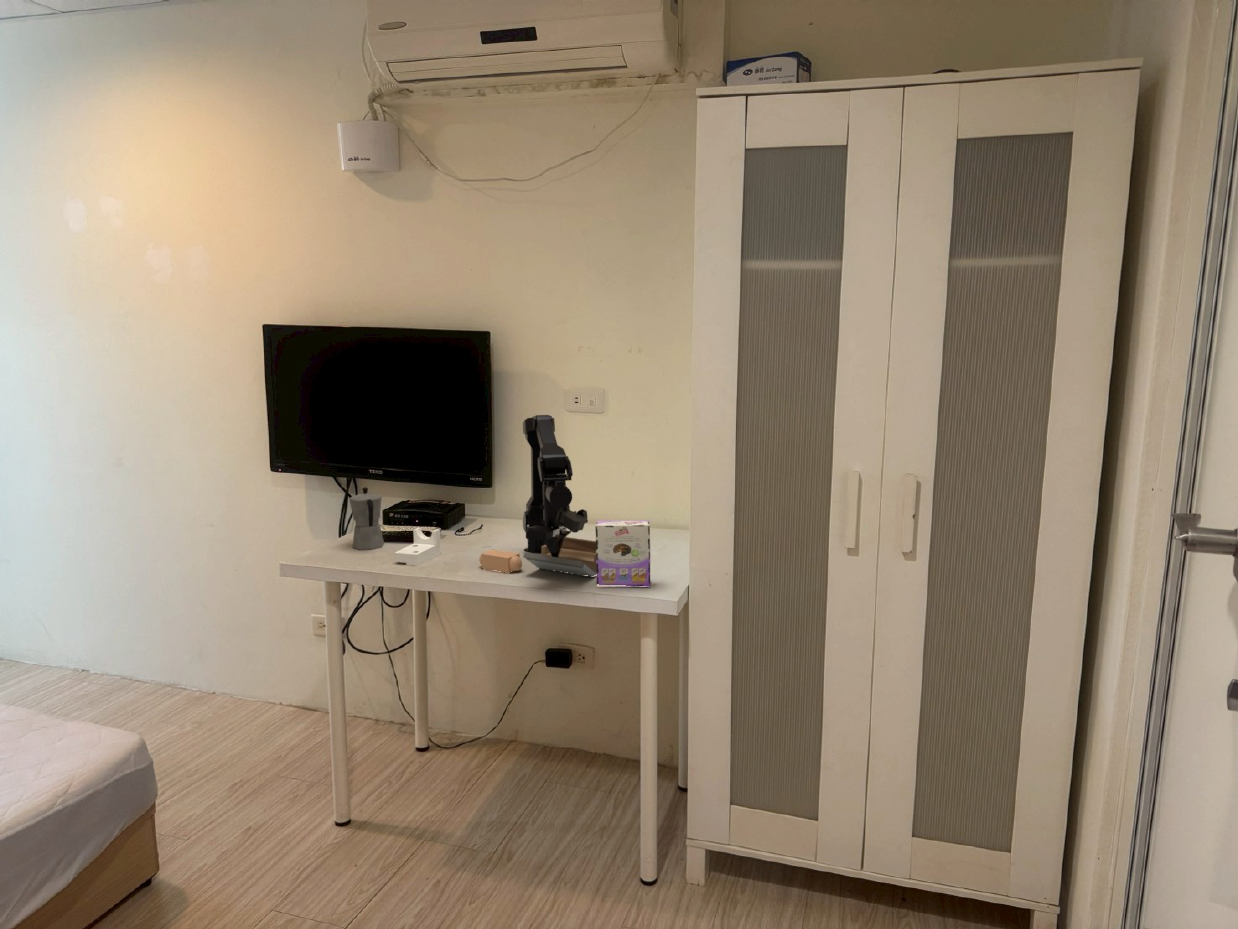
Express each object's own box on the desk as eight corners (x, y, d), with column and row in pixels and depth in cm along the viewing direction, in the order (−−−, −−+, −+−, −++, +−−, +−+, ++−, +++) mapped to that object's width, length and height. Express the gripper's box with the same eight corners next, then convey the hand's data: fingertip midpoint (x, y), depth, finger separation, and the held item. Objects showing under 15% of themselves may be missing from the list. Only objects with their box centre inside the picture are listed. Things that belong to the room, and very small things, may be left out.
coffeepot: (348, 542, 268) (345, 485, 265) (380, 539, 272) (377, 482, 269) (357, 555, 254) (353, 494, 251) (390, 551, 258) (387, 491, 255)
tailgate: (540, 564, 239) (524, 552, 232) (596, 573, 231) (581, 561, 224) (539, 568, 239) (523, 556, 232) (594, 577, 230) (579, 565, 223)
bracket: (419, 552, 257) (417, 527, 256) (440, 554, 255) (439, 529, 254) (395, 565, 245) (393, 538, 244) (417, 567, 243) (416, 540, 242)
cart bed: (558, 560, 248) (558, 535, 247) (614, 568, 239) (614, 543, 238) (541, 567, 240) (541, 542, 239) (598, 576, 232) (598, 551, 230)
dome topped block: (487, 563, 245) (486, 548, 244) (526, 570, 238) (526, 554, 237) (475, 568, 240) (474, 552, 239) (515, 575, 234) (514, 559, 233)
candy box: (650, 581, 228) (650, 519, 225) (650, 588, 222) (650, 524, 219) (597, 581, 228) (596, 519, 226) (595, 588, 223) (595, 524, 220)
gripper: (560, 510, 215) (562, 572, 218) (599, 496, 231) (600, 554, 234) (523, 506, 220) (525, 566, 223) (563, 493, 236) (564, 549, 239)
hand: (555, 559), depth 229 cm, fingers closed
